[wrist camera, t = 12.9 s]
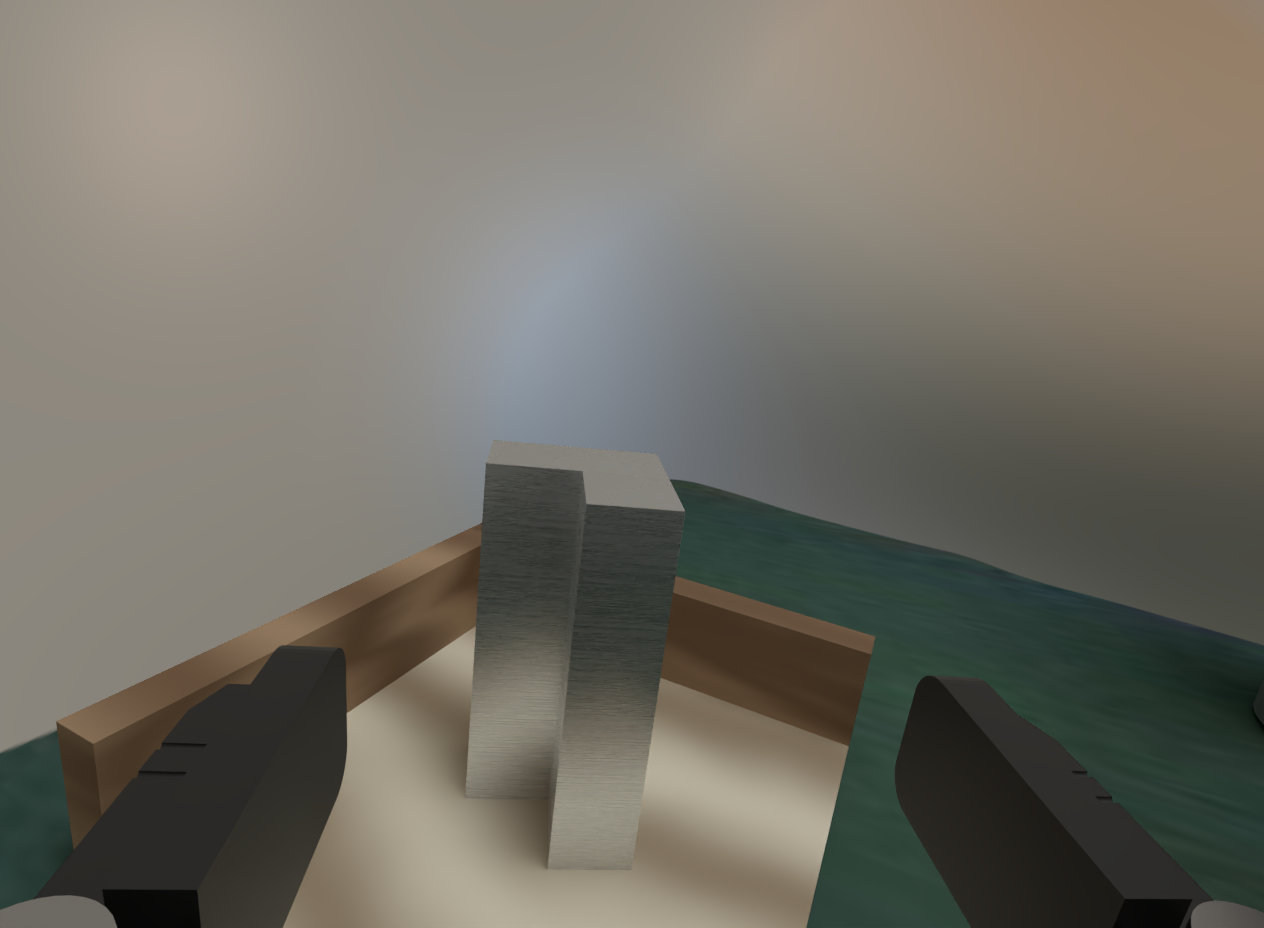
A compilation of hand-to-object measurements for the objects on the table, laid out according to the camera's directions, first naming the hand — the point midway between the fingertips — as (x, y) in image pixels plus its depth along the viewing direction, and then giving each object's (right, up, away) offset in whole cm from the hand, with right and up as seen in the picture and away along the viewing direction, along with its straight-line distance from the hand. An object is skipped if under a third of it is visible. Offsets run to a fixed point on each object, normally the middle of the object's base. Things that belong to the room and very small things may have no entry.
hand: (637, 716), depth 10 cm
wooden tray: (-3, -8, +13) cm, 16 cm away
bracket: (-3, -7, +12) cm, 14 cm away
